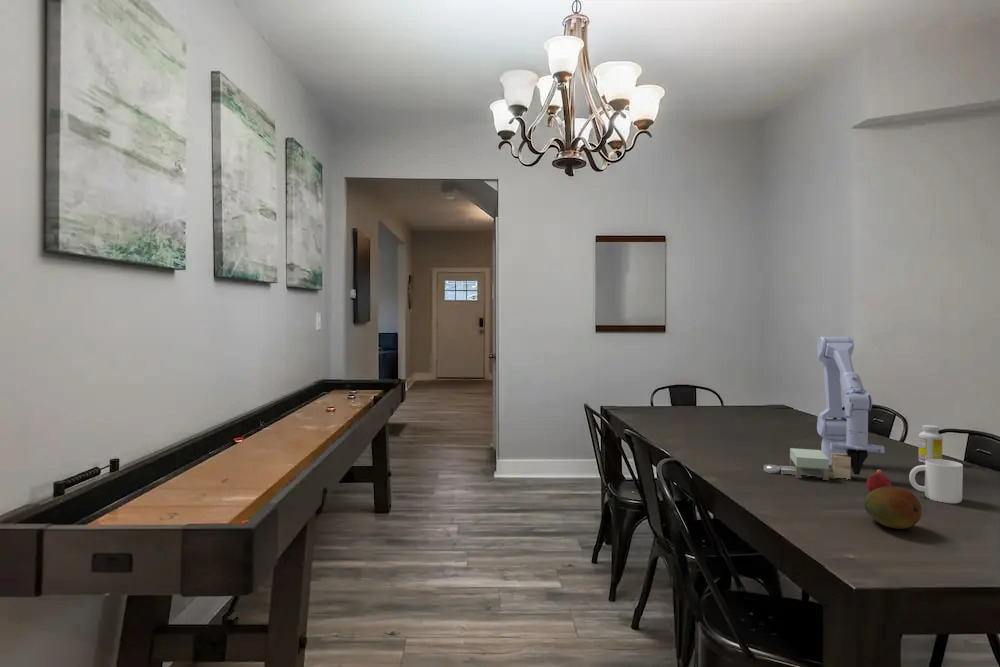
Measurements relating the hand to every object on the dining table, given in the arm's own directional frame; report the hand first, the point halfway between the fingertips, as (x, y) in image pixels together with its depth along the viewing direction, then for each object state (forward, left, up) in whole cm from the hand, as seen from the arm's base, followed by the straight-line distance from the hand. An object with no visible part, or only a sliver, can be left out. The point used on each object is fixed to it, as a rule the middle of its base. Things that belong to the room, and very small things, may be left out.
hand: (856, 473), depth 181 cm
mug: (+16, +15, -2) cm, 22 cm away
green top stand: (0, -14, -1) cm, 14 cm away
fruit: (+45, -4, -2) cm, 45 cm away
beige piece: (0, -12, -1) cm, 12 cm away
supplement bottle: (-30, +29, -2) cm, 42 cm away
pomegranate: (+21, 0, -2) cm, 21 cm away
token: (0, -24, -2) cm, 24 cm away
